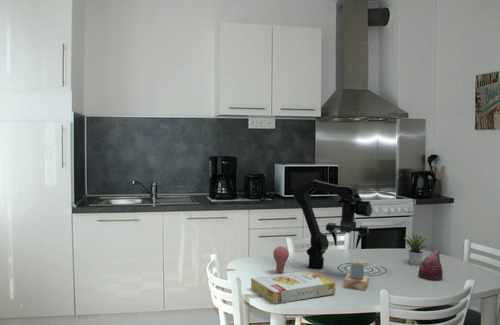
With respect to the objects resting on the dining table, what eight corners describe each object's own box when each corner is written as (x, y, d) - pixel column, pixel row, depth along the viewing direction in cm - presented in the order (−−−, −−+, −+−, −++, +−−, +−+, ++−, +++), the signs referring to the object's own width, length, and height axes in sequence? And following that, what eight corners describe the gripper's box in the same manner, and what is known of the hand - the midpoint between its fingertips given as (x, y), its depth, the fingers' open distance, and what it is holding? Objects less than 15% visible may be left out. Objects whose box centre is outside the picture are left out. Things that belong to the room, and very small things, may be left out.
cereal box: (336, 281, 192) (275, 290, 179) (336, 295, 192) (275, 305, 179) (307, 269, 210) (249, 276, 197) (306, 282, 210) (249, 290, 197)
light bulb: (290, 271, 223) (291, 245, 223) (284, 275, 217) (285, 249, 216) (276, 269, 226) (276, 243, 226) (270, 273, 220) (271, 247, 219)
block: (343, 288, 202) (344, 279, 202) (347, 282, 210) (347, 273, 210) (366, 291, 199) (366, 282, 198) (368, 285, 207) (368, 276, 207)
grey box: (350, 278, 202) (351, 263, 202) (350, 275, 207) (350, 260, 207) (363, 279, 202) (363, 263, 201) (362, 276, 206) (362, 260, 206)
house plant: (429, 260, 250) (431, 229, 249) (435, 268, 236) (436, 235, 235) (401, 258, 253) (402, 227, 252) (404, 265, 239) (406, 233, 238)
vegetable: (439, 282, 223) (450, 252, 223) (441, 286, 214) (451, 254, 213) (416, 274, 227) (427, 244, 227) (417, 277, 217) (427, 245, 217)
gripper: (325, 214, 216) (323, 248, 217) (367, 218, 211) (365, 253, 212) (328, 210, 227) (326, 243, 228) (369, 214, 221) (367, 248, 222)
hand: (346, 247), depth 222 cm, fingers open, 9 cm apart
